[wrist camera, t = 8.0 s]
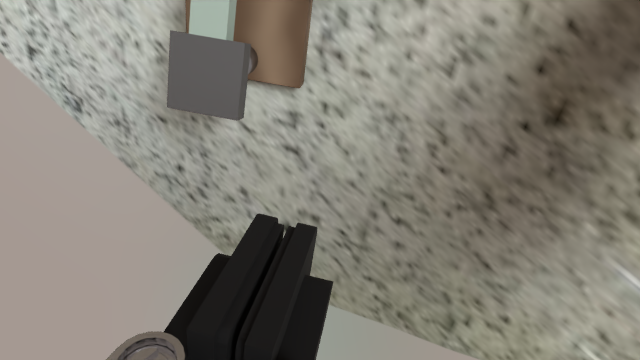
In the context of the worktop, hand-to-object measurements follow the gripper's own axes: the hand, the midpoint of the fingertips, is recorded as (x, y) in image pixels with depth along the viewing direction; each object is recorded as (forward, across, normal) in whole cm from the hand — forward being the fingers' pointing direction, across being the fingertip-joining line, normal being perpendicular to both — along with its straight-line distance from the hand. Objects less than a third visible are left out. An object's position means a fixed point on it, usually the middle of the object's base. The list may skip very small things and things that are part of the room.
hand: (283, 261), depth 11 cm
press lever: (+24, +12, -4) cm, 27 cm away
